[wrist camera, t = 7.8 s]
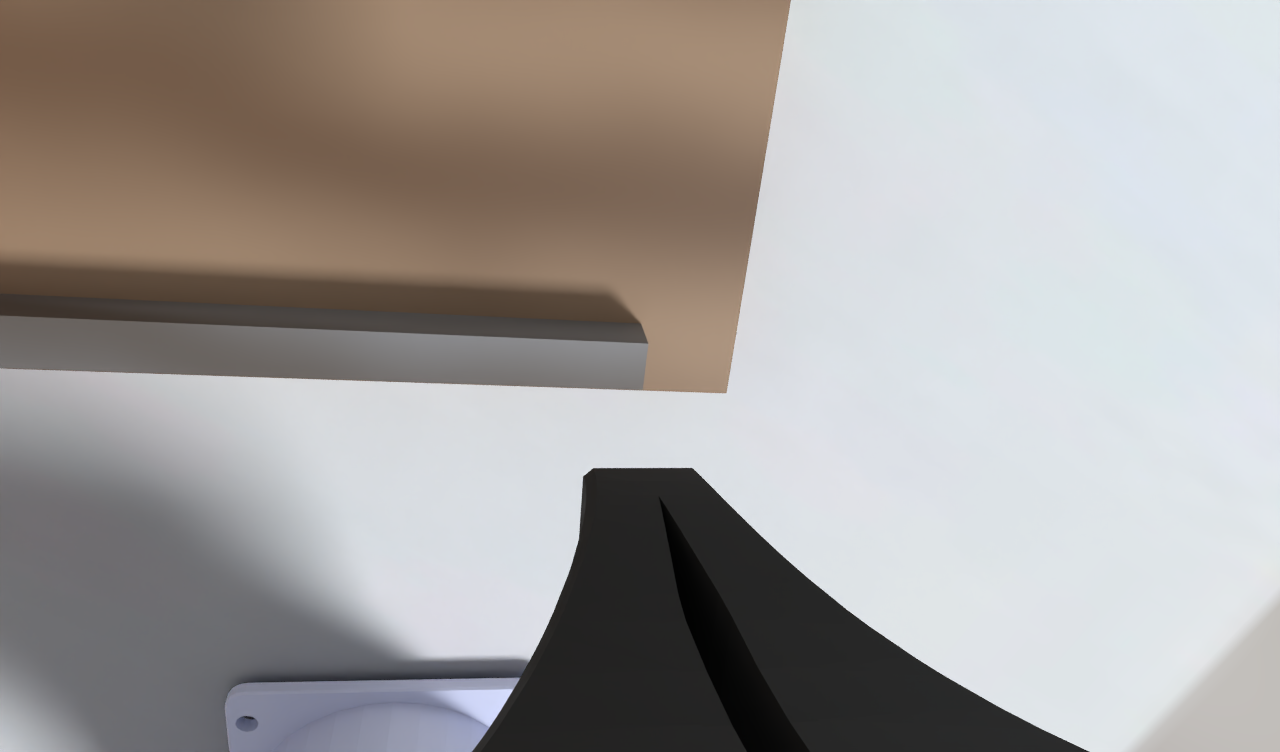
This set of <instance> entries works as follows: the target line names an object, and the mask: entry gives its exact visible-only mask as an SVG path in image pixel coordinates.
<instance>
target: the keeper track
mask: <svg viewBox="0 0 1280 752" xmlns="http://www.w3.org/2000/svg"><path fill="white" fill-rule="evenodd" d="M790 2H791V0H0V368H8V369H37V370H66V371H95V372H124V373H153V374H182V375H211V376H240V377H269V378H299V379H328V380H357V381H386V382H415V383H444V384H473V385H502V386H531V387H560V388H589V389H618V390H647V391H676V392H705V393H726V392H727V386H728V380H729V374H730V368H731V362H732V355H733V349H734V343H735V337H736V331H737V325H738V319H739V313H740V307H741V301H742V294H743V288H744V282H745V276H746V270H747V264H748V258H749V252H750V246H751V240H752V233H753V227H754V221H755V215H756V209H757V203H758V197H759V191H760V185H761V179H762V173H763V166H764V160H765V154H766V148H767V142H768V136H769V130H770V124H771V118H772V112H773V105H774V99H775V93H776V87H777V81H778V75H779V69H780V63H781V57H782V51H783V44H784V38H785V32H786V26H787V20H788V14H789V8H790Z"/></svg>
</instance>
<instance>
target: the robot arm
mask: <svg viewBox="0 0 1280 752" xmlns="http://www.w3.org/2000/svg"><path fill="white" fill-rule="evenodd" d="M224 709H225V718H226V727H227V736H228V746H229V752H1089V751H1086V750H1084V749H1082V748H1080V747H1078V746H1076V745H1074V744H1072V743H1070V742H1067V741H1065V740H1063V739H1061V738H1059V737H1057V736H1055V735H1053V734H1050V733H1048V732H1046V731H1044V730H1042V729H1040V728H1038V727H1036V726H1034V725H1032V724H1030V723H1028V722H1026V721H1025V720H1023V719H1021V718H1019V717H1017V716H1015V715H1013V714H1011V713H1009V712H1007V711H1005V710H1003V709H1001V708H1000V707H998V706H996V705H994V704H992V703H991V702H989V701H987V700H985V699H984V698H982V697H980V696H978V695H977V694H975V693H973V692H971V691H970V690H968V689H966V688H964V687H963V686H961V685H959V684H957V683H956V682H954V681H952V680H950V679H949V678H947V677H945V676H943V675H942V674H940V673H939V672H937V671H935V670H934V669H932V668H931V667H929V666H927V665H926V664H924V663H923V662H921V661H919V660H918V659H916V658H915V657H913V656H912V655H910V654H909V653H907V652H906V651H904V650H903V649H901V648H900V647H899V646H897V645H896V644H894V643H893V642H891V641H890V640H888V639H887V638H885V637H884V636H882V635H881V634H880V633H878V632H877V631H875V630H874V629H872V628H871V627H869V626H868V625H867V624H865V623H864V622H862V621H861V620H860V619H858V618H857V617H856V616H854V615H853V614H852V613H850V612H849V611H848V610H846V609H845V608H844V607H843V606H841V605H840V604H839V603H838V602H836V601H835V600H834V599H833V598H832V597H830V596H829V595H828V594H827V593H825V592H824V591H823V590H822V589H820V588H819V587H818V586H817V585H816V584H814V583H813V582H812V581H811V580H809V579H808V578H807V577H806V576H805V575H804V574H802V573H801V572H800V571H799V570H798V569H797V568H796V567H794V566H793V565H792V564H791V563H790V562H789V561H788V560H786V559H785V558H784V557H783V556H782V555H781V554H780V553H779V552H778V551H776V550H775V549H774V548H773V547H772V546H771V545H770V544H769V543H768V542H767V541H766V540H765V539H764V538H763V537H761V536H760V535H759V534H758V533H757V532H756V531H755V530H754V529H753V528H752V527H751V526H750V525H749V524H748V523H747V522H746V521H745V520H744V519H743V518H742V517H741V516H740V515H739V514H738V513H737V512H736V511H735V510H734V509H733V508H732V507H731V506H730V505H729V504H728V503H727V502H726V501H725V500H724V499H723V498H722V497H721V496H720V495H719V494H718V493H717V492H716V491H715V490H714V489H713V488H712V487H711V486H710V485H709V484H708V483H707V482H706V481H705V480H704V479H703V478H702V477H701V476H700V475H699V474H698V473H697V472H696V471H695V470H694V469H693V468H593V469H592V470H591V471H590V472H588V473H587V474H586V475H585V476H583V489H582V504H581V519H580V534H579V541H578V545H577V548H576V552H575V555H574V559H573V562H572V566H571V569H570V572H569V574H568V577H567V579H566V582H565V585H564V587H563V590H562V592H561V595H560V597H559V600H558V602H557V605H556V607H555V610H554V612H553V615H552V617H551V619H550V621H549V624H548V626H547V628H546V630H545V632H544V634H543V636H542V638H541V640H540V642H539V644H538V646H537V648H536V650H535V652H534V654H533V656H532V658H531V660H530V662H529V663H528V665H527V667H526V669H525V671H524V673H523V674H522V676H521V678H474V679H421V680H368V681H315V682H262V683H243V684H239V685H237V686H235V687H233V688H232V689H231V690H230V691H229V693H228V696H227V699H226V701H225V707H224ZM243 716H251V717H253V718H255V719H252V720H250V719H245V718H244V717H243Z"/></svg>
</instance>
